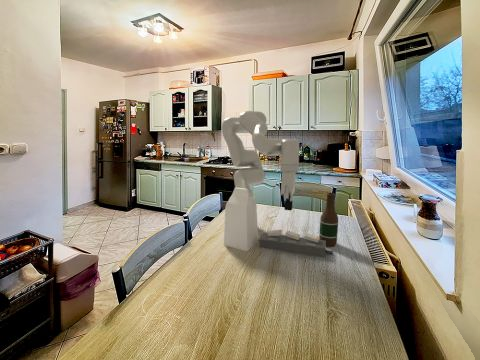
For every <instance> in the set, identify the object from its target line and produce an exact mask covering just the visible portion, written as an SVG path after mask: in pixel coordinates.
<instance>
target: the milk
mask: <svg viewBox="0 0 480 360" xmlns="http://www.w3.org/2000/svg"><path fill="white" fill-rule="evenodd" d="M224 208H225V209H224V228H223V229H224V230H223V231H224V232H223V233H224V235H223V236H224V237H223V246H224V247H225V246H226V247H230V248H234V249H238V250H242V251H246V252H248V251H249V250H250V249H251V248H252V247H253V246H255V244H257V243H259V233H258V232H259V230H258V229H259V228H258V210H257V208H258V205H257V202H256V200H255V199H254V197H253V198H252V197H251V196H250V194H249V191H248V189H244V188H235V187H234V189H233V192H232V194H231V196H230V197H229V199H228V201H227V202H226V204H225V207H224Z"/></svg>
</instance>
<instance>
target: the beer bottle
mask: <svg viewBox="0 0 480 360" xmlns="http://www.w3.org/2000/svg"><path fill="white" fill-rule="evenodd" d="M335 198H336V194H335V193H334V192H327V193H326V201H325V207H324V208H325V209H324V211H323V212H322V214H321V216H320V221H319V235H318V237H319V240H325V241H326V248H335V247H336V245H337V243H338V232H339V229H338V228H339V216H338V213H337V212H336V208H335V205H336V204H335Z"/></svg>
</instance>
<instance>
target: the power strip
mask: <svg viewBox="0 0 480 360" xmlns="http://www.w3.org/2000/svg"><path fill="white" fill-rule="evenodd" d="M267 233H268V232H263V233H262V234H261V235H260V237H258V248H259V249H266V250H273V251H280V252H285V253H293V254H299V255H306V256H314V257H321V258H326V254H331V255H333V253H334V250H327V249H326V248H327V247H326V241H325V240H319V241H318V243H317V242H314V241H311V240H308V239H305V238H304V237H301V236H300V238H299V240H296V239H293V238H290V237H287V236H285V235H286V234H281V235H277V236H268V234H267Z"/></svg>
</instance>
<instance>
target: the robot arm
mask: <svg viewBox="0 0 480 360" xmlns="http://www.w3.org/2000/svg"><path fill="white" fill-rule="evenodd" d="M267 132H268V125H267V117H266V115H265V113H263V112H262V111H255V110H253V111H252V110H246V111H243V112H241V113H240V114H239V117H233V116H231V117H227V118H225V119H224V120H223V122H222V124H221V134H222V136H223V139H224V141H225V143H226V145H227V148H228V152H229V156H230V159H231V163H232V165H233V166H234V167H235V168H240V169H237V170H236V171H235V172H234V173H233V181H234V182H233V183H234V189H235V188H244V189H248V191H249V194H250V196H251V197H252V198H253V199H254V193H253V190H252V188H251V187H250V186H256V185H261V184H262V183H264V181H265V171H264V168H263V164H262V161H261V158H260V155H259V153H260V154H261V155H263V156H264V157H272V156H280V173H282V174H281V183H280V184H281V185H280V195H281V196H283V195H284V211H293V195H294V194H295V192H296V191H295V190H296V173H299V168H300V167H299V163H300V162H299V161H300V141H299V140H298V139H295V138H267V137H266V134H267ZM237 134H250V135H251V140H252V141H251V142H252V145H253V147H254V148H255V149H256V150H257V151H256V150H254V149H246V148H245V147H244V143H243V141H242V139H241V138H240V137H239V136H238V135H237ZM258 152H259V153H258Z"/></svg>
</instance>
